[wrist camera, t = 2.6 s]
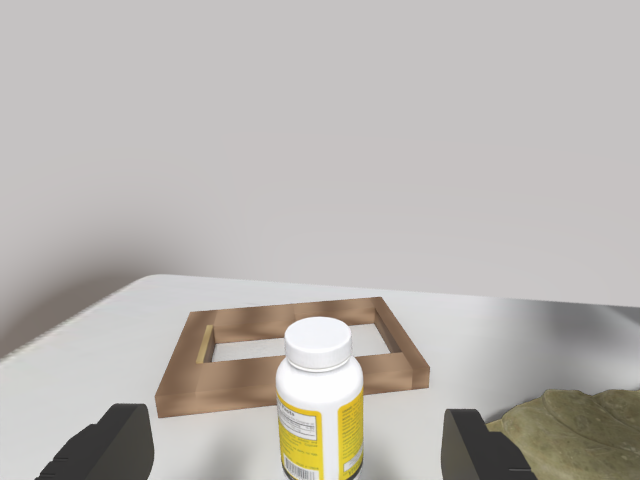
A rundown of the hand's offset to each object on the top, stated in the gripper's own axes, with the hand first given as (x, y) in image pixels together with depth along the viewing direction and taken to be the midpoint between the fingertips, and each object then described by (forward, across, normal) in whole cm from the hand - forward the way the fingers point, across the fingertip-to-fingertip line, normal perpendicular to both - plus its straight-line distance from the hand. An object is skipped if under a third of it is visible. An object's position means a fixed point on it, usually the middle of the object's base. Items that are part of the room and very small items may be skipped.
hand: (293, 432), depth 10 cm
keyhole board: (+24, +3, +13) cm, 28 cm away
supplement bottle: (+12, 0, +14) cm, 18 cm away
